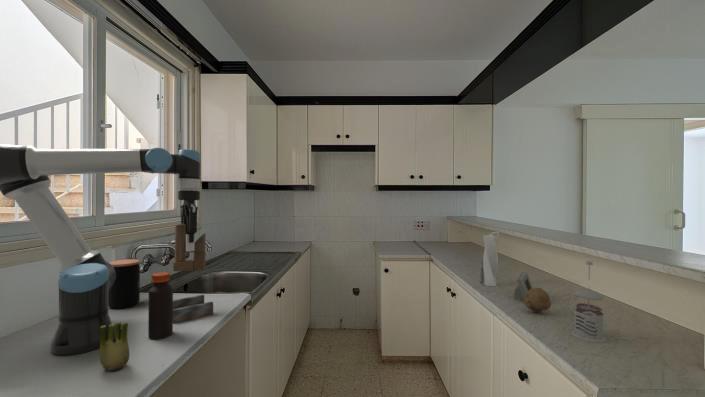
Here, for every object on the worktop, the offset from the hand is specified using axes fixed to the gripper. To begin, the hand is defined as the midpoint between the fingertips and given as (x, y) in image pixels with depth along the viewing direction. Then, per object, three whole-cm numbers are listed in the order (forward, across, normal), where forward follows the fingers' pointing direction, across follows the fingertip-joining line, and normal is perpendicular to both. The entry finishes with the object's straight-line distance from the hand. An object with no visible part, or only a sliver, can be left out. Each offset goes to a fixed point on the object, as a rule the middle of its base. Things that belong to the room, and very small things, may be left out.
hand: (188, 250), depth 125 cm
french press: (+23, -108, -94) cm, 145 cm away
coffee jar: (+25, +26, +17) cm, 40 cm away
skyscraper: (+23, -59, -131) cm, 145 cm away
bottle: (+25, -16, +12) cm, 32 cm away
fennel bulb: (+25, -30, +26) cm, 47 cm away
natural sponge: (+23, -90, -105) cm, 140 cm away
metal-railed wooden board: (+24, -1, 0) cm, 24 cm away
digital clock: (+23, -80, -121) cm, 147 cm away
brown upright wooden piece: (+8, 0, -1) cm, 8 cm away
